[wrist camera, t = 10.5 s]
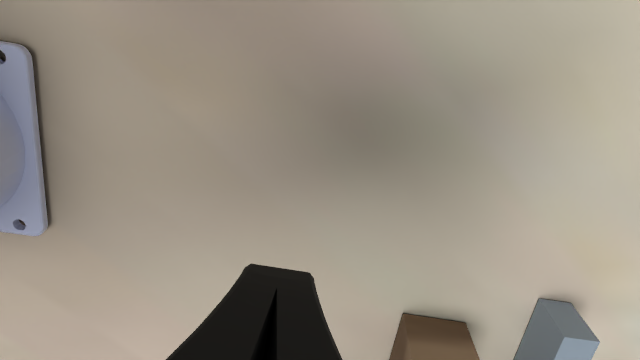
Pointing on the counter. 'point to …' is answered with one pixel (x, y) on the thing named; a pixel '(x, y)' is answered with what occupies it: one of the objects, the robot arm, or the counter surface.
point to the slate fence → (557, 334)
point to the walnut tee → (432, 340)
